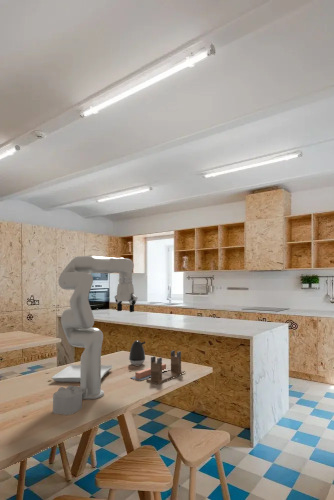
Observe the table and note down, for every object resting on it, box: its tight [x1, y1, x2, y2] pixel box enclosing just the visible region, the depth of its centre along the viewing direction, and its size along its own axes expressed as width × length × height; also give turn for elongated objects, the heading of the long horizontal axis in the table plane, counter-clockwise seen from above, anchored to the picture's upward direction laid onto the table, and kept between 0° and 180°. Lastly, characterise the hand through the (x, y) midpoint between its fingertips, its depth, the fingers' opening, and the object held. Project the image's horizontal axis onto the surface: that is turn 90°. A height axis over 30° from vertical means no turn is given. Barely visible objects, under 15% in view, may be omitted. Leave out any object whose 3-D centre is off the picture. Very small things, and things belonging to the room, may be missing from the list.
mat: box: [130, 375, 151, 382], centre depth 195 cm, size 27×8×1 cm, turn 143°
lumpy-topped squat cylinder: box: [52, 385, 83, 416], centre depth 145 cm, size 10×13×9 cm
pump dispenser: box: [128, 340, 146, 366], centre depth 217 cm, size 10×10×15 cm
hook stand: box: [146, 350, 186, 385], centre depth 189 cm, size 25×8×13 cm, turn 143°
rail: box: [134, 362, 167, 379], centre depth 195 cm, size 24×3×3 cm, turn 143°
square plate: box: [51, 364, 114, 383], centre depth 191 cm, size 27×27×4 cm
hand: (125, 311), depth 194 cm, fingers open, 9 cm apart
